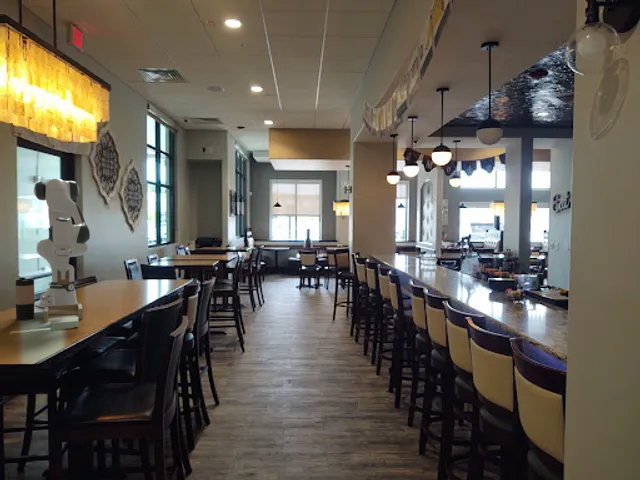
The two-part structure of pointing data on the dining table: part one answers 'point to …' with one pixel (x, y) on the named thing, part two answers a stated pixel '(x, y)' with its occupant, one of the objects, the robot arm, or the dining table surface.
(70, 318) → the sage stand
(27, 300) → the travel mug
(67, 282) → the walnut block
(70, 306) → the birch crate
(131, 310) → the dining table surface
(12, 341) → the dining table surface
